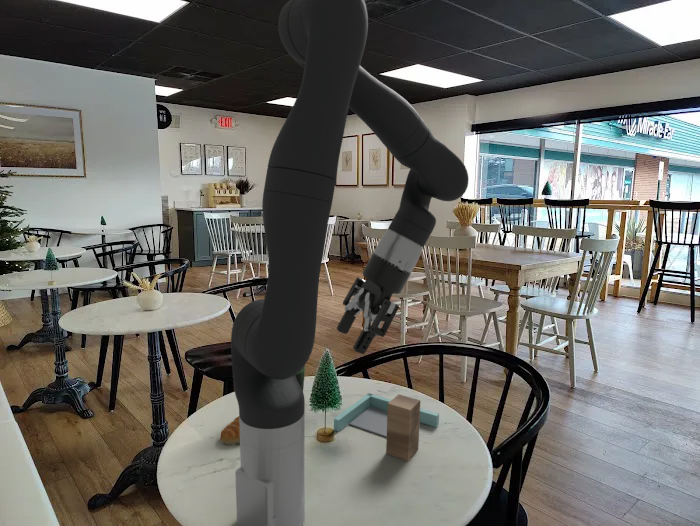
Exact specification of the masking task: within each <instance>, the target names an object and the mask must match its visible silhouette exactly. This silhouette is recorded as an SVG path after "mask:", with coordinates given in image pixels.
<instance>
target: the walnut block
mask: <svg viewBox="0 0 700 526" xmlns="http://www.w3.org/2000/svg"><path fill="white" fill-rule="evenodd" d="M420 408H421V399H416V398H413V397H409V396H406V395H403V394H397V395H396V396H395V397H394V398H393V399H391V401H390V402H389V403H388V411H387V438H386V445H385V447H386V449H385V450H386V451H385V452H386V453H385V454H388V455H390V456H391V457H396V458H398V459H401V460H404V461H407V462H409V461H410V459H411V458H412V457H413V456H414V455H415V454H416V453H417V452H418V450H419V445H420V444H419V442H420V423H421V422H420Z"/></svg>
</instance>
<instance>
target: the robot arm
mask: <svg viewBox="0 0 700 526" xmlns="http://www.w3.org/2000/svg"><path fill="white" fill-rule="evenodd" d="M367 9H368V8H367V5H366V2H365V0H288V1H287V2H286V3H285V4H284V6H283V7H282V9H281V10H280V12H279V13H280V14H279V16H278V24H277V27H278V34H279V38H280V41H281V43H282V45H283V47H284V48H285V49H284V50H285V51H286V52H287V54H288V55H289V56H290V57H291V58H292V59H293V60H294V62H296V63H297V64H298V65H299V66H300V67H302V68H303V69H304V70H303V75H302V81H301V84H300V87H299V91H298V95H297V97H296V99H295V101H294V103H293V106H292V107H291V110H290V112H289V113H288V114H287V115H288V116H287V117H286V119H285V121H284V123H283V124H282V127H281V129H280V130H279V133H278V134H277V136H276V139H275V141H274V144H273V146H272V149H271V151H270V154H269V158H268V163H267V169H266V175H265V181H264V188H263V193H262V194H263V195H262V207H261V208H262V222H263V230H264V236H265V237H264V238H265V242H266V250H267V256H268V257H267V258H268V259H267V261H268V271H267V272H268V275H267V283H266V289H265V293H264V298H262V299H261V298H259V299H256V300H253V301H250V302H249V303H247V304H246V305H245V306H244V307H242V308H241V309H240V311H239V312H237V314H236V317H235V318H234V321H233V323H232V328H231V334H230V335H231V336H230V351H231V352H230V353H231V354H230V355H231V366H232V367H231V368H232V379H233V380H232V382H233V390H234V394H235V398H236V400H237V404H238V413H239V414H238V416H239V423H240V443H239V453H240V454H239V455H240V457H239V459H240V467H238V468H237V469H236V470H235V474H234V475H235V499H236V500H235V504H236V526H303V525H304V523H305V519H306V518H305V517H306V516H305V515H306V513H305V511H306V510H305V509H306V508H305V505H306V502H305V501H306V499H305V497H306V496H305V495H306V494H305V493H306V492H305V491H306V490H305V489H306V487H305V486H306V485H305V483H306V481H305V479H306V478H305V468H306V467H305V464H306V462H305V461H306V459H305V454H306V453H305V450H306V448H305V447H306V446H305V445H306V443H305V442H306V441H305V440H306V439H305V438H306V437H305V435H306V434H305V433H306V432H305V428H306V427H305V426H306V425H305V418H306V417H305V415H306V414H305V411H306V410H305V407H306V406H305V402H306V401H305V394H304V390H303V391H302V389H301V387H300V385H299V383H298V381H297V379H296V376H295V374H297V373H298V372H299V371H300V370H301V369H302V368H303V367H304V366H305V367H306V364H307V362H308V361H309V359H310V357H311V354H312V352H313V348H314V345H315V339H316V329H317V313H318V312H317V311H318V300H319V298H318V297H319V285H320V276H321V268H322V263H323V257H324V250H325V245H326V238H327V236H326V235H327V231H328V224H329V220H330V215H331V210H332V206H333V205H332V203H333V199H334V195H335V194H334V193H335V189H336V182H337V176H338V168H339V167H338V166H339V160H340V155H341V154H340V153H341V149H342V143H343V139H344V133H345V128H346V124H347V117H348V113H349V109H350V110H351V111H352V112H353V113H354V114H355V115H356V116H357V117H358V118H360V120H361V121H362V122H363V123H364V124H365V125H366V126H367V127H368V128H369V129H370V130H371V132H372V133H373V134H375V136H376V137H377V139H379V141H380V142H381V143H382V144H383V145H384V147H386V149H387V150H388V151H389V152H390V153H391V155H392V156H393V158H395V160H396V161H397V162H398V163H400V164H401V165H402V166H404V167H406V168H409V171H408V174H407V176H406V180H405V184H404V188H403V190H402V194H401V199H400V202H399V208H398V210H397V212H396V213H395V214H394V215H395V216H394V217H393V218H392V220H391V222H390V224H389V226H388V228H387V229H386V231H385V232H384V234H383V236H382V237H381V238H380V240H379V241H378V243H377V245H376V247H375V249H374V250H373V252H372V254H371V256H370V258H369V260H368V262H367V264H366V266H365V268H364V269H363V271H362V275H363V277H364V278H365V279H366V280H365V279H362V278H361V277H358V276H357V277H356V279H355V280H354V282H353V284H352V286H351V287H350V288H349V290H348V291H347V294H346V296H345V298H344V299H343V301H342V302H343V303H342V306H345V307H344V311H345V312H344V313H343V315H342V317H341V318H340V321H339V322H338V325H337V326H336V330H337V331H338V332H339V333H342V334H344V335H347V334H348V333H349V331H350V330H351V328H352V325H353V323H354V322H355V320H356V319H357V316H358V315H360V313H362V312H363V319H364V325H363V329H362V330H361V332H360V334H359V335H358V337H357V339H356V342H355V343H354V345H353V347H352V349H353V350H354V352H356V353H359V354H362V355H364V354H366V352H367V350H368V349H369V347H370V345H371V343H372V341H373V339H374V338H375V337H377V336H379V337H381V338H385V336H386V334H387V331H388V330H389V327H390V326H391V324H392V322H393V320H394V318H395V315H397V312H398V310H399V308H400V306H399V304H397V303H396V302H394V301H391V298H392V296H393V295H394V294H395V295H400V293H402V291H403V289H404V287H405V285H406V283H407V281H408V279H409V278H410V276H411V274H412V272H413V270H414V268H415V267H416V265H417V263H418V261H419V259H420V257H421V254H422V251H423V249H424V247H425V246H426V244H427V241H428V240H429V238H430V237H431V234H432V233H433V231H434V229H435V227H436V224H437V218H436V217H435V215H434V214H433V213H432V212H431V211H430V210H429V208H430V204H431V201H432V198H433V199H436V200H439V201H441V202H453V201H457V200H458V199H459V198H461V197H462V196H463V195H464V194H465V193H466V191H467V189H468V186H469V173H468V170H467V167H466V165H465V163H464V162H463V161H462V160H461V159H460V158H459V156H457V154H456V153H454V152H453V151H452V150H451V149H450V148H449V147H448V146H447V144H445V143H444V142H442V141H441V140H440V139H438V137H436V136H435V135H434V134H433V132H432V131H431V129H430V128H429V127H428V125H427V123H426V122H425V121H424V120H423V119H422V117H421V116H420V114H419V113H418V111H417V110H416V109H415V108H414V107H413V106H412V105H411V103H410V102H408V100H406V98H404V97H403V96H401V95H400V94H399V93H398V92H396V91H395V90H394V89H392V88H390V87H389V86H387V85H386V84H384V83H383V82H382V81H380V80H378V79H377V78H376V77H374V75H371V73H369V72H368V71H367V70H366V69H365V68H364V67H362V66H361V62H362V58H363V56H364V51H365V47H366V43H367V39H368V38H367V37H368V30H369V15H368V10H367ZM382 323H383V324H382ZM381 324H382V326H381Z"/></svg>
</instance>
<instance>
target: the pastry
mask: <svg viewBox="0 0 700 526" xmlns="http://www.w3.org/2000/svg"><path fill="white" fill-rule="evenodd" d="M219 437H220V438H219V441H220V442H221V443H224V444H227V445H231V446H234V445H233V444H235V445H237V443H238V444H240V423H239V415H238V416H236V417H235V418H234V419H233V420H232V421H231V422H230V423H229V424H227V425H226V426H225V427H224V428H223V429H222V430H221V432H220V436H219Z"/></svg>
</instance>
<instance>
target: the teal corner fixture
mask: <svg viewBox="0 0 700 526" xmlns="http://www.w3.org/2000/svg"><path fill="white" fill-rule="evenodd" d="M391 400H392V399H390V398H387V397H383V396H380V395H377V394H374V393H370V392H368V393H367V394H366V395H364V396H362V398H360V399H358V400H357V401H356V402H355V403H353V404H352V405H351V406H349V407H348V408H346V409H344V411H342V412H341V413H339V414H338V415H336V416H335V417H334V418H333V431H335V432H340V431H342V430H343V429H344V428H346V427H347V426H348V425H349V426H352V427H355V428H358V429H361V430H363V431H365V432H369V433H373V434H375V435H378V436H381V437H383V438H386V439H387V411H388V403H389V402H390V401H391ZM439 420H440V413H438V412H434V411H431V410H429V409H424V408H421V407H420V423H422V424H423V425H428V426H431V427H435V428H437V427H439V425H440V424H439V423H440V421H439Z"/></svg>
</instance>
